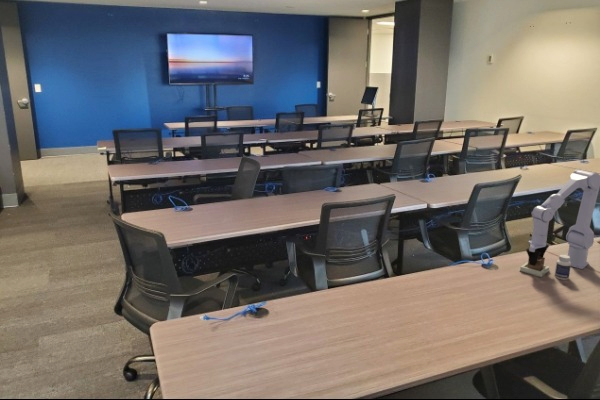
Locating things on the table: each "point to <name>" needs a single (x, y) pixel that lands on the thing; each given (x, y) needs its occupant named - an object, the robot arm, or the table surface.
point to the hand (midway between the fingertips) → (535, 262)
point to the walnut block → (537, 264)
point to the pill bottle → (563, 267)
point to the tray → (534, 272)
